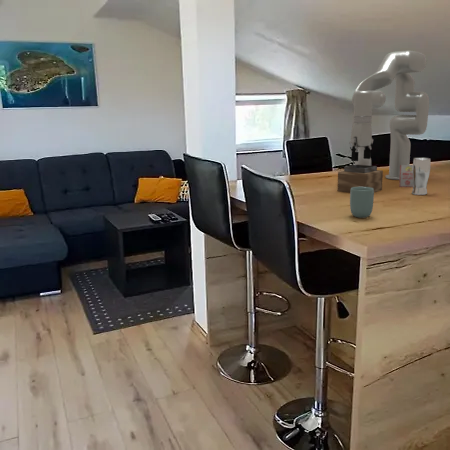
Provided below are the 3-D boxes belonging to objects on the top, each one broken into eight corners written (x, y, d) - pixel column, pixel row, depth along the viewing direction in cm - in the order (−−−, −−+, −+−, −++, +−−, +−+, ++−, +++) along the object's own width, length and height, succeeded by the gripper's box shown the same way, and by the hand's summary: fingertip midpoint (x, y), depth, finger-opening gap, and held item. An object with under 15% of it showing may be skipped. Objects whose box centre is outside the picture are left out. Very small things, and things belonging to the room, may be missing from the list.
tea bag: (399, 185, 226) (400, 164, 223) (414, 186, 223) (416, 164, 221) (399, 187, 222) (400, 165, 220) (414, 187, 220) (416, 165, 218)
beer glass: (427, 192, 207) (430, 157, 204) (428, 195, 201) (431, 159, 197) (410, 192, 209) (412, 157, 206) (410, 195, 203) (413, 159, 199)
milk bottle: (371, 186, 226) (373, 143, 221) (354, 186, 227) (355, 143, 222) (369, 183, 233) (371, 142, 228) (353, 183, 235) (354, 142, 230)
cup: (346, 214, 172) (347, 187, 170) (367, 213, 173) (368, 186, 170) (354, 219, 165) (355, 191, 162) (376, 218, 165) (377, 190, 163)
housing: (354, 186, 226) (355, 163, 224) (381, 190, 216) (383, 166, 213) (337, 190, 217) (338, 167, 214) (364, 194, 207) (365, 169, 204)
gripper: (365, 119, 217) (364, 157, 222) (343, 121, 206) (342, 161, 210) (380, 119, 212) (378, 158, 216) (358, 121, 201) (357, 162, 205)
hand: (360, 159), depth 213 cm, fingers open, 9 cm apart
